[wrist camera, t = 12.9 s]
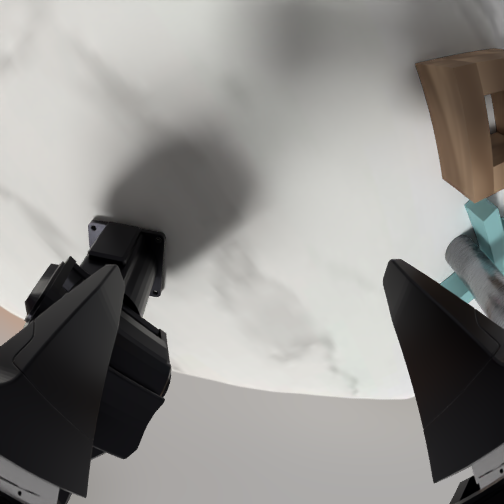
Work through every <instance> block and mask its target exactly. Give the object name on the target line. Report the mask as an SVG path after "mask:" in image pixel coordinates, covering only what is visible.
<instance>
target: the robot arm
mask: <svg viewBox="0 0 504 504" xmlns="http://www.w3.org/2000/svg"><path fill="white" fill-rule="evenodd" d="M93 225H94V226H95V227H96V228H94V227H93ZM88 231H89V245H90V249H89V251H88V254H87V256H86V257H85V259H84V261H83V262H82V264H81V265H80V266H79V265H78V264H76V261H75V260H74V259H73V258H72V257H71V256H70V257H69V258H68V259H67V261H66V262H65V263H64V262H62V263H61V264H60V265H56V264H50V266H49V267H48V269H47V270H46V271H45V273H44V274H43V276H42V277H41V279H40V280H39V282H38V283H37V284H36V286H35V287H34V289H33V290H32V292H31V294H30V295H29V297H28V298H27V300H26V301H25V306H26V312H27V316H26V318H25V321H26V323H25V325H24V328H23V329H22V330H21V331H20V332H19V333H17V334H16V335H15V336H13V337H12V338H11V339H9V340H8V341H7V342H6V343H4V344H3V345H2V346H0V504H67V503H68V501H69V499H70V496H71V494H72V493H73V494H76V495H79V496H82V497H84V498H86V496H87V487H88V478H89V469H90V461H91V460H92V459H94V458H96V457H98V456H100V455H103V454H104V453H109V454H111V455H114V456H116V457H119V458H121V459H126V458H127V457H129V456H130V455H131V454H132V453H133V452H134V451H136V450H137V448H138V446H139V443H140V441H141V438H142V436H143V433H144V431H145V429H146V426H147V425H148V423H149V421H150V420H151V418H152V416H153V415H154V413H155V412H156V411H157V410H158V409H159V408H160V406H161V405H162V404H163V403H164V401H165V399H164V398H163V397H164V396H165V394H166V392H167V390H168V387H169V384H170V379H171V365H170V361H169V353H168V346H167V337H166V333H165V332H164V331H162V330H161V329H157V328H156V327H154V326H153V325H152V324H150V323H149V322H148V321H146V320H145V319H144V318H142V317H143V314H144V311H145V307H146V304H147V301H148V298H149V296H153V297H159V296H160V295H161V291H162V277H163V263H164V251H165V240H166V237H165V235H164V234H163V233H161V232H157V231H152V230H146V229H141V228H139V227H135V226H130V225H124V224H119V223H113V222H109V223H108V222H103V221H97V220H93V221H91V222H90V224H89V225H88ZM157 237H159V238H160V239H161V240H158V239H157ZM383 286H384V290H385V294H386V298H387V302H388V306H389V310H390V314H391V318H392V322H393V325H394V328H395V331H396V334H397V337H398V340H399V343H400V346H401V349H402V352H403V356H404V359H405V362H406V365H407V369H408V372H409V375H410V379H411V382H412V386H413V390H414V393H415V397H416V401H417V405H418V408H419V413H420V417H421V421H422V425H423V429H424V435H425V440H426V444H427V449H428V455H429V460H430V465H431V471H432V477H433V482H434V483H437V482H439V481H441V480H443V479H445V478H448V477H450V476H452V475H454V474H456V473H459V472H461V471H463V470H465V469H466V468H468V467H470V466H472V470H473V473H474V476H472V477H470V478H468V479H466V480H464V481H462V482H460V484H459V486H458V488H457V490H456V492H455V494H454V496H453V498H452V500H451V502H450V504H504V328H502V327H501V326H499V325H498V324H496V323H495V322H493V321H492V320H490V319H489V318H487V317H486V316H485V315H483V314H482V313H480V312H479V311H478V310H476V309H474V308H473V307H472V306H471V305H469V304H468V303H466V302H465V301H464V300H462V299H461V298H459V297H458V296H456V295H455V294H453V293H452V292H451V291H449V290H448V289H446V288H445V287H443V286H442V285H440V284H439V283H437V282H436V281H434V280H433V279H431V278H430V277H428V276H427V275H425V274H424V273H422V272H420V271H419V270H417V269H416V268H414V267H413V266H411V265H410V264H408V263H406V262H405V261H403V260H402V259H391V260H390V261H389V262H388V265H387V268H386V271H385V274H384V278H383ZM155 291H157V292H155Z"/></svg>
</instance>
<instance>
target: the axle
mask: <svg viewBox="0 0 504 504" xmlns="http://www.w3.org/2000/svg"><path fill="white" fill-rule="evenodd" d="M445 258H446V261H447V263H448V264H449V265H450V266H451V268H452V269H453V270H454V271H455V273H456V274H457V275H458V277H459V278H460V279H461V281H462V282H463V283H464V285H465V286H466V287H467V289H468V290H469V291H470V293H471V294H472V296H473V297H474V298H475V300H476V301H477V303H478V304H479V306H480V307H481V309H482V310H483V311H484V313H485V314H486V316H487V317H488V318H489V319H490V320H492V321H493V322H495V323H496V324H498V325H499V326H501V327H502V328H504V275H503V274H502V273H501V271H500V270H499V269H498V268H497V267H496V266H495V264H494V263H493V262H492V261H491V260H490V259H489V258H488V257H487V256H486V254H485V253H484V252H483V251H482V250H481V249H480V248H479V247H478V246H477V245H476V244H475V243H474V242H473V241H472V240H471V239H470V237H469V236H467V235H461V236H459V237H457V238H455V239H454V240H453V241H452V242H451V243H450V245H449V246H448V248H447V250H446V254H445Z"/></svg>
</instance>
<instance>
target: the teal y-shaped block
mask: <svg viewBox="0 0 504 504" xmlns="http://www.w3.org/2000/svg"><path fill="white" fill-rule="evenodd" d="M465 208H466V210H467V213H468V215H469V218H470V221H471V223H472V226H473V229H474V232H475V235H476V238H477V241H478V244H479V247H480V249H481V250H482V251H483V252H484V253H485V254H486V256H487V257H488V258H489V259H490V260H491V261H492V262H493V263H494V264H495V266H496V267H497V268H498V269H499V270H500V271H501V273H502V274H503V275H504V218H503V217H500V214H499V210H498V208H497V207H496V206H495V205H494V204H493V203H491V202H490V201H489V200H488V199H486V198H485V199H483V200H481V201H479V202H477V203H475V204H474V203H473V202H472V201H471V200H469V201H468V202H467V203H466V204H465ZM440 285H442V286H443V287H445V288H446V289H448V290H449V291H451V292H452V293H453V294H455V295H456V296H458V297H459V298H461V299H462V300H464V301H465V302H466V303H469V302H470V301H471V300H472V299H474V297H473V296H472V294H471V293H470V291H469V290H468V289H467V287H466V286H465V285H464V283H463V282H462V281H461V279H460V278H459V277H458V275H457V274H456V273H453V274H452V275H451V276H450V277H448V278H447V279H446V280H445V281H443V282H442V283H441V284H440Z"/></svg>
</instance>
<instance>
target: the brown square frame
mask: <svg viewBox="0 0 504 504" xmlns="http://www.w3.org/2000/svg"><path fill="white" fill-rule="evenodd" d="M415 65H416V68H417V71H418V74H419V78H420V81H421V84H422V87H423V91H424V94H425V97H426V101H427V105H428V109H429V112H430V116H431V121H432V125H433V129H434V134H435V138H436V143H437V148H438V154H439V159H440V165H441V172H442V178H443V179H444V180H445V181H446V182H448V183H449V184H450V185H452V186H453V187H454V188H456V189H457V190H458V191H460V192H461V193H462V194H463V195H465V196H466V197H467V198H468V199H470V200H471V201H472V202H473V203H474V204H475V203H477V202H479V201H481V200H483V199H485V198H487V197H489V196H491V195H493V194H495V193H497V192H498V191H500V190H502V189H504V50H503V49H496V48H494V49H487V50H480V51H474V52H468V53H462V54H457V55H452V56H447V57H442V58H437V59H433V60H428V61H424V62H420V63H416V64H415ZM488 94H491V98H492V103H493V109H494V115H495V122H496V130H497V132H495V133H493V134H490V129H489V122H488V116H487V110H486V104H485V99H484V96H485V95H488Z"/></svg>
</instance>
